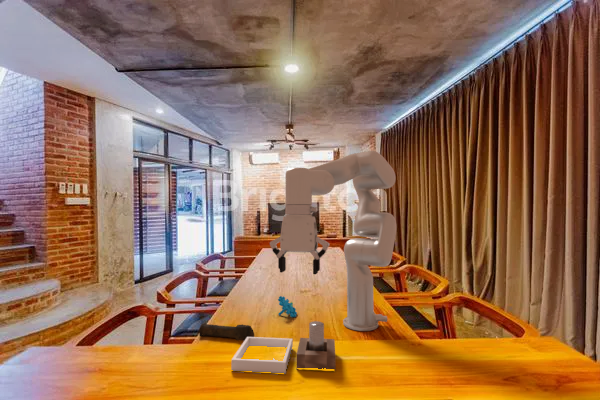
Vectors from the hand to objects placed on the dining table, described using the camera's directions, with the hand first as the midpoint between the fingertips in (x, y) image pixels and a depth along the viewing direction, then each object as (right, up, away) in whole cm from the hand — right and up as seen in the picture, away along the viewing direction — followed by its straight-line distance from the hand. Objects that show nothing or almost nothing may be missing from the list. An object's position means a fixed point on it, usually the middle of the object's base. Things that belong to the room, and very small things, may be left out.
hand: (298, 272), depth 79 cm
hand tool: (-24, -25, +14) cm, 38 cm away
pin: (+5, -24, -2) cm, 24 cm away
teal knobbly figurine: (-5, -27, +34) cm, 44 cm away
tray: (-10, -24, -1) cm, 26 cm away
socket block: (+5, -24, -2) cm, 24 cm away
